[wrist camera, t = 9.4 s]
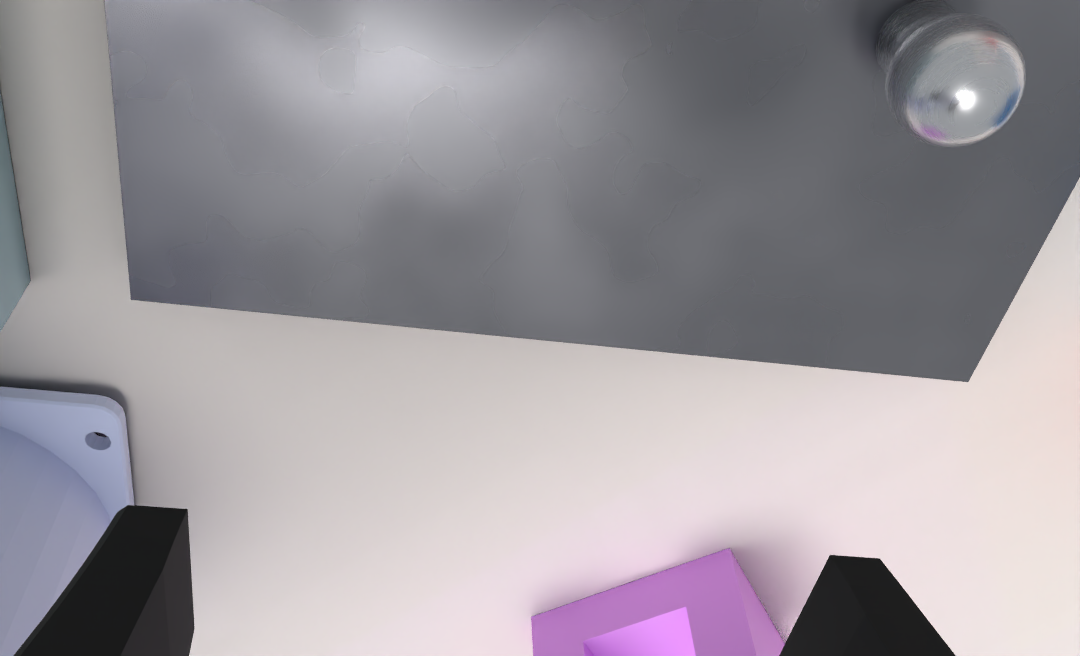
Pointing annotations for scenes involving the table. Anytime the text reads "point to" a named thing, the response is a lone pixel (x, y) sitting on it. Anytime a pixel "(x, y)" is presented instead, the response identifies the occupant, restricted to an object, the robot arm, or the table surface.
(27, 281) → the bin
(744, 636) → the bracket
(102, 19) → the table surface
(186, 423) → the table surface
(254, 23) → the stud plate
